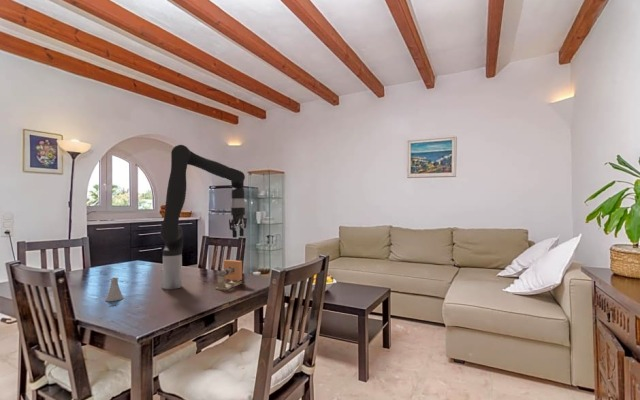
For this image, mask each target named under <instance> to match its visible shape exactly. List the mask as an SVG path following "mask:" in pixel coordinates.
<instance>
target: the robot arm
mask: <svg viewBox="0 0 640 400" xmlns="http://www.w3.org/2000/svg"><path fill="white" fill-rule="evenodd" d="M170 152H171V153H170V155H171V156H170V159H171V160H170V161H171V165H170V166H171V167H170V172H169V173H170V174H169V176H168V177H169V178H168V183H167V189H166V197H165V207H164V208H165V209H164V217H163V221H162V224H161V225H162V226H161V230H160V237H161V240H162V241H163V242H164V248H163V249H162V269H161V271H160V273H161V275H160V276H161V277H160V278H161V279H160V280H161V281H160V282H161V283H160V284H161V288H162V289H163V290H175V289H179V288H180V289H181V288H182V286H183V281H182V280H183V256H182V255H183V249H184V230H183V228H182V226H181V225H179V219H180V216H181V212H182V210H183V207H184V205H185V203H186V196H187V169H188V165H189V166H193V167H195V168H198V169H200V170H203V171H205V172H207V173H209V174H211V175H215V176H217V177H220V178H222V179H226V180H228V181H230V182H231V202H230V215H231V216H232V218H229V219H228V226H229V230H230V231H232V232H231V233H232V238H234V239H235V238H237V236H238V232H237V230H238V228H239V236H240V237H244V232H245V231H244V230H245V229H246V228H247V222H248V217H244V216H246V202H245V189H244V188H245V187H244V183H245V182H244V181H245V178H246V176H245V173H244V172H243V171H241V170H240V169H239V170H238V169H236V168H233V167H229V166H228V165H225V164H223V163H221V162H219V161H215V160H212V159H209V158H206V157H203V156H200V155H199V154H196V153H194V152H193V151H191V150H190V149H189V147H187V146H186V145H184V144H177V145H175V146H174V147H173V148H172V150H171V151H170Z"/></svg>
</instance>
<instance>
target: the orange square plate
mask: <svg viewBox="0 0 640 400" xmlns="http://www.w3.org/2000/svg"><path fill="white" fill-rule="evenodd" d="M233 267H234V273H230V274H228V275H224V276H226V280H230V281H232V280H240V281H241V280H243V260H234V259H225V260H223V270H226V269H230V268H233Z"/></svg>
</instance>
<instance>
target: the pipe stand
mask: <svg viewBox="0 0 640 400" xmlns="http://www.w3.org/2000/svg"><path fill="white" fill-rule="evenodd" d="M230 273H234V267H232V268H230V269H226V270H224V269H223V270H221V271H219V272H218V274H217V275H218V276H217V286H216V287H215V288H214V289H215V290H218V291H227V290H229V289H231V288H234V287H237V286H239V285H241V284H243V281H241V280H230V281H228V282H227V281H226V280H227V279H226V276H224V275H228V274H230Z"/></svg>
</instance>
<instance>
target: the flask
mask: <svg viewBox="0 0 640 400" xmlns="http://www.w3.org/2000/svg"><path fill="white" fill-rule="evenodd" d="M109 280H110V287H109V290H108V292H107V295H106V298H105V301H106V302H116V301H122V299H124V296H123V293H122V291H121V289H120V287H119V281H118V280H119V277H111V278H110V279H109Z"/></svg>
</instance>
